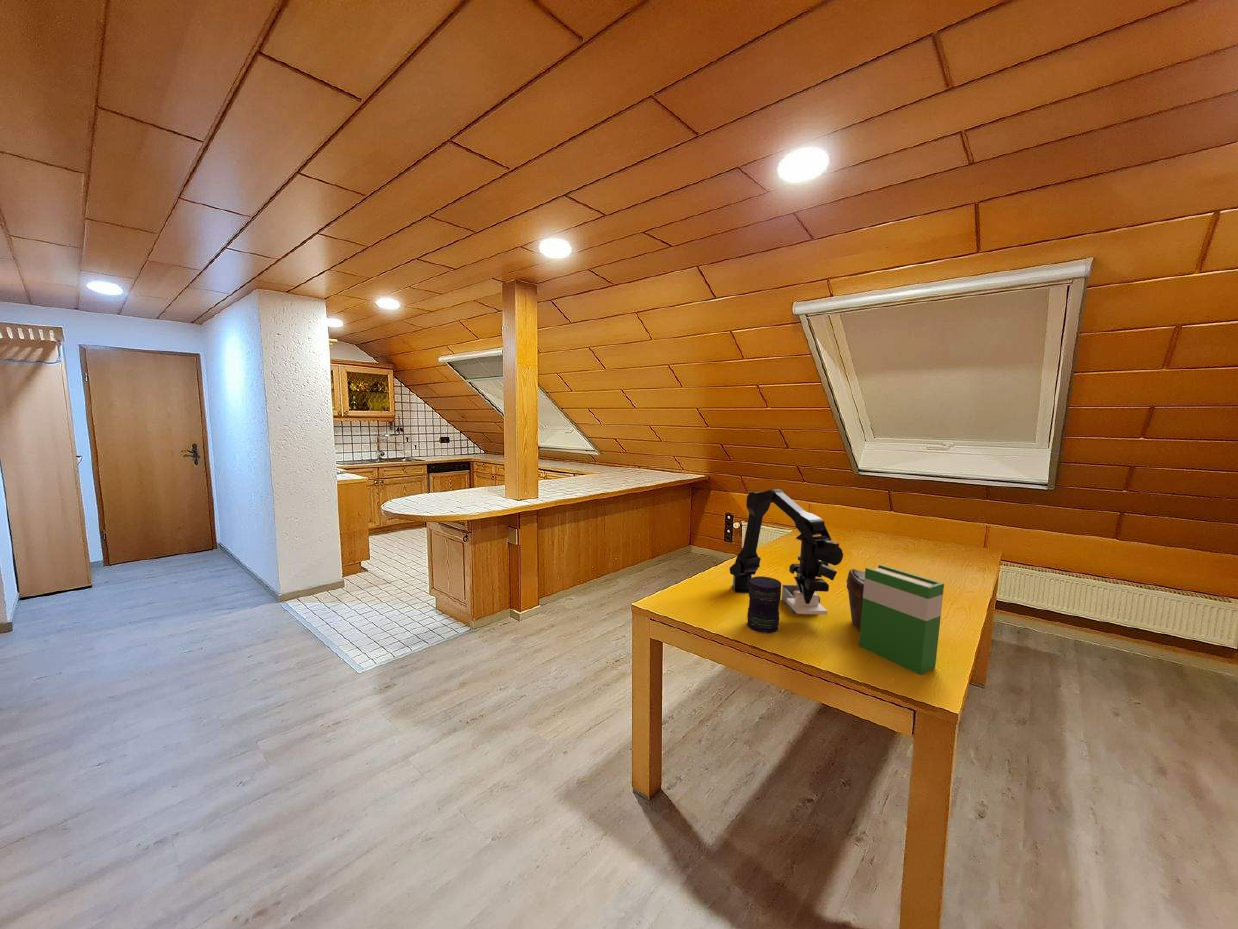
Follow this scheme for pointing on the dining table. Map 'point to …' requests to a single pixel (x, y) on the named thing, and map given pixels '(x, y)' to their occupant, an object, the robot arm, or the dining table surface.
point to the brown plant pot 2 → (856, 595)
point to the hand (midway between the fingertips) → (806, 602)
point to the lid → (806, 605)
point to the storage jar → (764, 604)
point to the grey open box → (790, 594)
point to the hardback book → (901, 617)
